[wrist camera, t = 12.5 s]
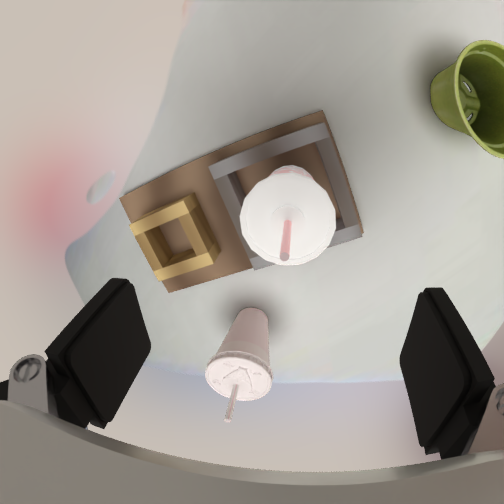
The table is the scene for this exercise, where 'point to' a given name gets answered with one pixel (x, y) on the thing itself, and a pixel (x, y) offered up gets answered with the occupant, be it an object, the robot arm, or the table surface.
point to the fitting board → (231, 202)
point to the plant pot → (474, 95)
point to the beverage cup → (288, 217)
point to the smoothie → (242, 360)
